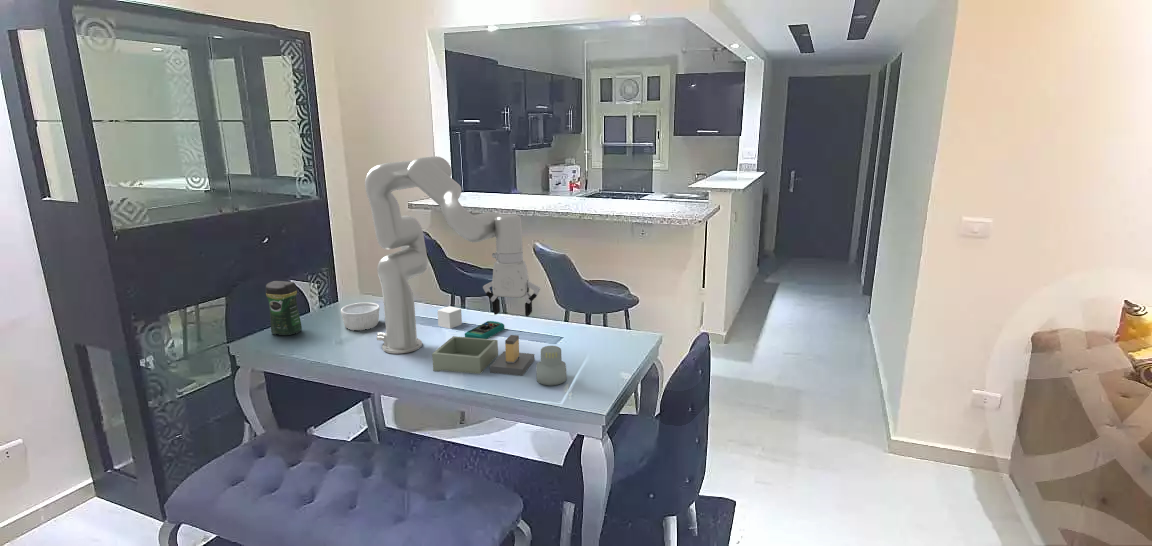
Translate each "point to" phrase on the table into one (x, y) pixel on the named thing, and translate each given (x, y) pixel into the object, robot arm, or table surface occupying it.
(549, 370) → the air freshener
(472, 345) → the parts tray
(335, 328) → the table surface
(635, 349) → the table surface
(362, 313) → the ramekin
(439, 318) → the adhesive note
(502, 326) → the digital multimeter
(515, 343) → the block
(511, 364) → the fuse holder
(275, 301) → the coffee jar
